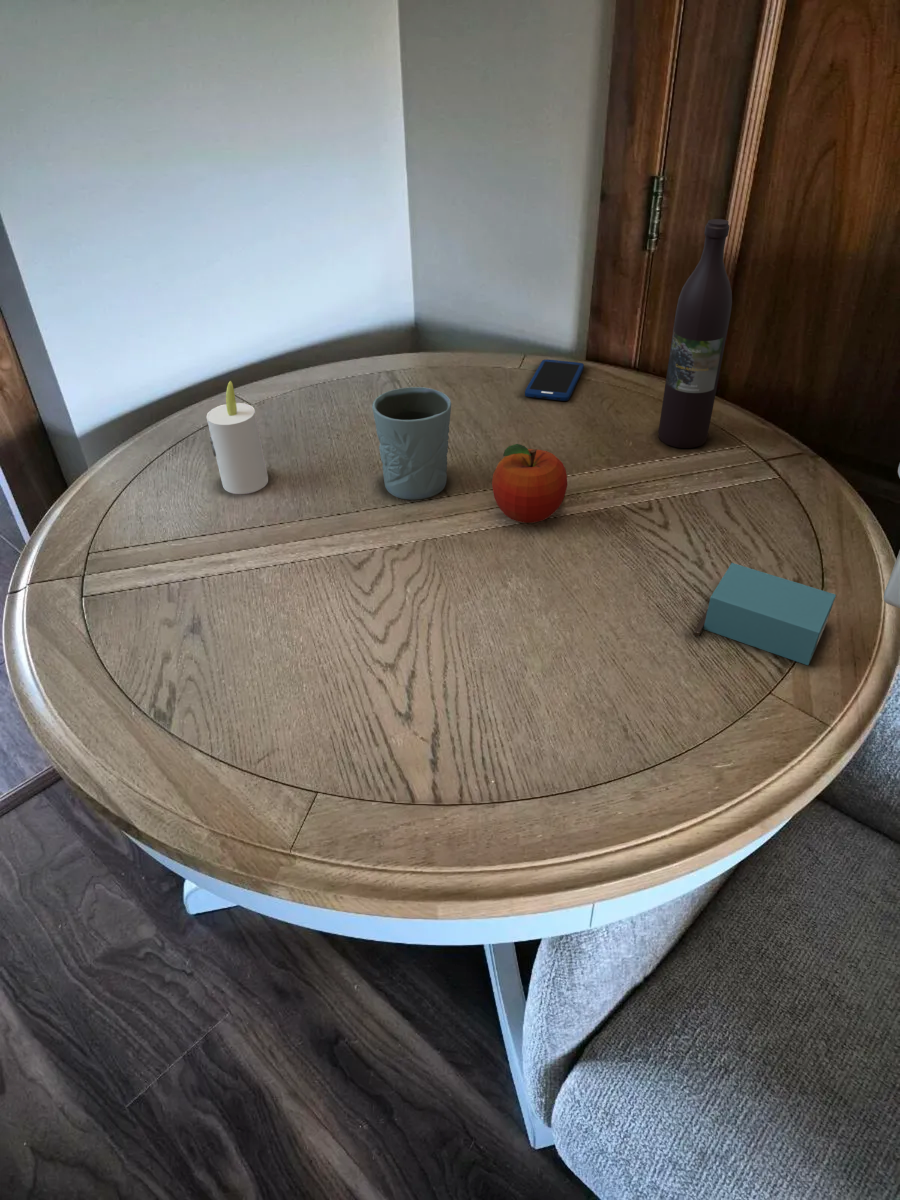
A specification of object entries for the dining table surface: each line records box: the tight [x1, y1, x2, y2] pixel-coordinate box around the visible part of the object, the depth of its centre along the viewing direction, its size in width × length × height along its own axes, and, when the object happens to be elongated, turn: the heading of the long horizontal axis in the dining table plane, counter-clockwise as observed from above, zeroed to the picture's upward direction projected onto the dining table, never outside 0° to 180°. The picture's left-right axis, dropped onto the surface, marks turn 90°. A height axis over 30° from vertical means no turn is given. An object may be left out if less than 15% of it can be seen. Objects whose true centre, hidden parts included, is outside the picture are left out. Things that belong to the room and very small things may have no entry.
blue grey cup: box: [371, 386, 452, 501], centre depth 110 cm, size 10×10×12 cm
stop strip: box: [692, 608, 708, 638], centre depth 91 cm, size 1×10×1 cm, turn 147°
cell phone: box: [524, 359, 585, 402], centre depth 137 cm, size 7×14×1 cm, turn 162°
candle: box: [206, 380, 269, 495], centre depth 110 cm, size 6×6×15 cm
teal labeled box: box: [703, 562, 837, 666], centre depth 87 cm, size 11×7×4 cm, turn 57°
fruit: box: [491, 443, 568, 524], centre depth 104 cm, size 10×10×10 cm
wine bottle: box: [657, 218, 733, 449], centre depth 112 cm, size 7×7×30 cm
